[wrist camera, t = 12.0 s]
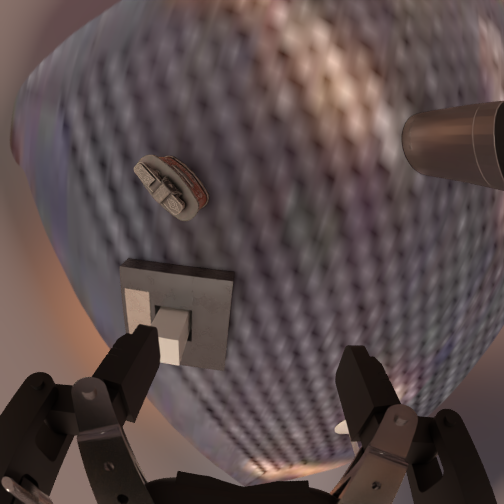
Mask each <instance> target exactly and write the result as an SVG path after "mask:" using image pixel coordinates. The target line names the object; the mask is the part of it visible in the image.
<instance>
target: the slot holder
mask: <svg viewBox="0 0 504 504" xmlns="http://www.w3.org/2000/svg"><path fill="white" fill-rule="evenodd" d="M233 280H234V272H231V271H222V270H214V269H206V268H198V267H190V266H182V265H174V264H166V263H159V262H151V261H144V260H137V259H129V258H128V259H127V260H126V261H125V262H124V263H123V264H121V265H120V281H121V293H122V303H123V312H124V320H125V328H126V333H130V334H132V333H133V332H134V330H135V329H136V327H137V326H138V325H139V324H143V325H148V326H150V325H151V323H152V322H153V320H154V318H155V316H156V314H157V313H158V311H159V309H160V307H161V306H164V307H171V308H177V309H184V310H191V311H192V329H191V330H190V333H189V336H188V339H187V342H186V345H185V349H184V352H183V355H182V358H181V362H180V365H186V366H192V367H199V368H206V369H214V370H222V371H224V367H225V358H226V348H227V338H228V328H229V318H230V308H231V299H232V289H233Z"/></svg>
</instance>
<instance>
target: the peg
mask: <svg viewBox="0 0 504 504" xmlns="http://www.w3.org/2000/svg"><path fill="white" fill-rule="evenodd" d="M150 326H153V327H156V328H157V330H158V338H159V346H160V355H161V357H160V362H162V363H167V364H173V365H180V362H181V358H182V355H183V352H184V349H185V345H186V342H187V339H188V336H189V333H190V330H191V326H192V311H191V310H184V309H177V308H171V307H164V306H161V307H160V309H159V311H158V313H157V314H156V316H155V318H154V320H153V322H152V323H151V325H150Z"/></svg>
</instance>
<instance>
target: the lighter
mask: <svg viewBox="0 0 504 504" xmlns="http://www.w3.org/2000/svg"><path fill="white" fill-rule="evenodd" d="M134 172H135V173H136V174H137V175H138V177H139V178H140V179H141V181H142V183H143V184H144V186H145V188H146V189H147V190H148V191H149V193H150V194H151V195H152V197H153V198H154V199H155V200H156V201H157V202H158V203H159V204H160V205H161V206H162V207H163V208H164V209H166V210H167V211H168V212H169V213H171V214H172V215H173V216H175V217H176V218H178V219H179V220H181V221H188V220H190V219H192V218H193V217H194V216H195V215H196V214H197V213H198V211H199V209H201V208H203V207H204V206H205V205H206V204H207V203H208V201H209V194H208V192H207V190H206V189H205V187H204V185H203V184H202V182H201V181H200V180H199V179H198V177H197V176H196V175H195V174H194V172H193V171H191V170H190V169H189V168H188V167H187V166H186V165H185V164H184V163H182V162H181V161H180V160H178V159H177V158H175V157H173V156H165V157H158V156H155V155H146V156H144V157H143V158H141V159H140V161H139V162H138V164H137V165H136V166H135V167H134Z"/></svg>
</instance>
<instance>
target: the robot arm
mask: <svg viewBox="0 0 504 504" xmlns="http://www.w3.org/2000/svg"><path fill="white" fill-rule="evenodd" d="M402 143H403V149H404V152H405V155H406V157H407V159H408V161H409V163H410V164H411V166H412V167H413V168H414V169H415V170H416V171H418V172H419V173H421V174H423V175H427V176H433V177H439V178H444V179H450V180H455V181H461V182H466V183H471V184H475V185H480V186H485V187H489V188H493V189H497V190H502V191H504V101H496V102H487V103H479V104H471V105H464V106H457V107H451V108H445V109H439V110H433V111H428V112H423V113H418V114H415V115H413V116H411V117H410V118H409V119H408V121H407V122H406V124H405V126H404V129H403V134H402ZM160 357H161V355H160V346H159V338H158V330H157V328H156V327H153V326H148V325H143V324H139V325H138V326H137V327H136V329H135V330H134V332H133V333H132V334H130V333H126V334H125V335H123V336H122V337H120V338H119V339H118V340H117V341H116V342H115V344H114V345H113V348H111V349H110V351H109V352H108V354H107V355H106V357H105V358H104V359H103V361H102V363H101V364H100V365H99V367H98V368H97V370H96V371H95V373H94V374H93V376H92V377H85V378H82V379H80V380H78V381H77V382H75V384H74V385H73V386H72V385H60V384H55V383H54V381H53V379H52V377H51V376H50V375H49V374H47V373H44V372H37V373H33V374H31V375H30V376H29V377H27V379H26V380H25V381H24V382H23V384H22V385H21V386H20V388H19V389H18V391H17V392H16V393H15V395H14V396H13V398H12V399H11V401H10V402H9V404H8V405H7V406H6V408H5V410H4V411H3V412H2V414H1V415H0V504H53V502H52V500H51V499H50V498H49V496H50V493H51V490H52V488H53V485H54V482H55V480H56V477H57V475H58V472H59V470H60V467H61V465H62V463H63V460H64V458H65V456H66V453H67V451H68V449H69V446H70V444H71V442H72V440H73V438H74V436H75V435H77V442H78V447H79V450H80V454H81V457H82V461H83V464H84V468H85V471H86V474H87V477H88V480H89V483H90V486H91V488H92V491H93V494H94V496H95V499H96V501H97V504H392V502H393V500H394V498H395V496H396V494H397V492H398V489H399V487H400V485H401V483H402V480H403V478H404V476H405V473H406V472H407V476H408V480H409V484H410V488H411V492H412V497H413V501H414V504H497V502H496V499H495V496H494V493H493V490H492V487H491V485H490V482H489V479H488V477H487V474H486V472H485V469H484V466H483V464H482V462H481V459H480V457H479V455H478V452H477V450H476V448H475V446H474V444H473V441H472V439H471V437H470V435H469V433H468V431H467V429H466V427H465V424H464V422H463V420H462V419H461V417H460V415H459V414H458V413H457V412H455V411H453V410H451V409H443V410H441V411H439V412H438V413H437V415H436V416H435V417H434V418H431V417H420V416H417V414H416V412H415V411H414V410H413V409H412V408H410V407H409V406H406V405H403V404H401V403H400V401H399V399H398V396H397V394H396V392H395V390H394V388H393V386H392V384H391V382H390V381H389V378H388V376H387V374H386V372H385V370H384V368H383V366H382V364H381V363H380V362H379V361H378V360H377V359H376V358H375V357H370V356H369V354H368V352H367V350H366V348H365V346H363V345H361V346H351V345H348V346H346V348H345V350H344V353H343V355H342V358H341V361H340V364H339V366H338V369H337V372H336V378H335V381H336V387H337V390H338V394H339V397H340V401H341V405H342V408H343V412H344V416H345V420H346V423H347V427H348V431H349V435H350V439H351V442H356V441H361V443H362V446H361V448H360V449H359V451H358V453H357V454H356V456H355V458H354V459H353V461H352V463H351V464H350V466H349V467H348V469H347V471H346V472H345V474H344V475H343V477H342V478H341V480H340V481H339V483H338V484H337V485H336V486H335V487H334V489H333V490H332V491H331V492H330V494H329V493H327V492H324V491H322V490H319V489H315V488H310V487H309V483H308V481H276V482H271V483H265V484H260V485H253V486H247V487H242V486H238V485H234V484H231V483H228V482H225V481H221V480H219V479H216V478H213V477H210V476H203V475H197V474H192V473H186V472H181V471H178V472H177V477H176V478H163V479H158V480H154V481H150V482H148V481H147V479H146V478H145V475H144V474H143V472H142V470H141V468H140V466H139V464H138V462H137V460H136V458H135V455H134V453H133V451H132V449H131V447H130V444H129V442H128V440H127V437H126V434H125V432H124V429H123V425H124V423H125V421H126V420H127V421H130V422H133V423H135V421H136V418H137V416H138V414H139V411H140V409H141V407H142V404H143V402H144V399H145V397H146V395H147V393H148V390H149V388H150V386H151V384H152V381H153V379H154V377H155V375H156V372H157V370H158V368H159V365H160ZM437 455H439V457H440V460H441V463H442V466H443V469H444V474H443V475H442V472H441V469H440V466H439V464H438V461H437V458H436V456H437Z"/></svg>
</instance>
